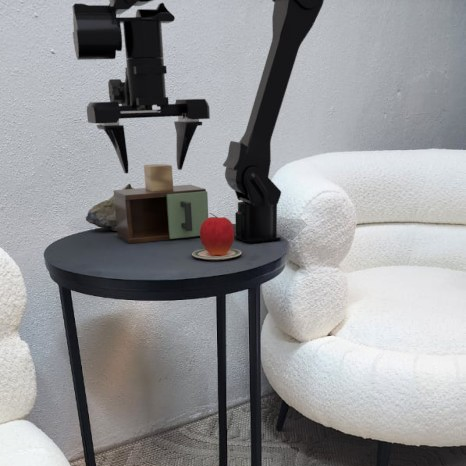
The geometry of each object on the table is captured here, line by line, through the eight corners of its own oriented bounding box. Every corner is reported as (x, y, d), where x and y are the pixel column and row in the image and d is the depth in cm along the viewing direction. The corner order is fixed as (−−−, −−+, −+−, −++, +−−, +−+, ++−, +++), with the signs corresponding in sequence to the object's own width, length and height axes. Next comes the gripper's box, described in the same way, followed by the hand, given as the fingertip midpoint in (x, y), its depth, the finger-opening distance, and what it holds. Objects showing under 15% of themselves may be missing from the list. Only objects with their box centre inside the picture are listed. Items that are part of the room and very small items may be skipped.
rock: (136, 217, 140) (141, 182, 131) (143, 242, 139) (149, 208, 130) (81, 221, 137) (82, 185, 128) (88, 247, 136) (89, 213, 126)
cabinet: (192, 229, 134) (190, 184, 130) (207, 235, 128) (205, 188, 123) (118, 236, 129) (113, 190, 125) (129, 243, 123) (125, 195, 118)
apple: (193, 252, 115) (191, 210, 112) (241, 251, 115) (240, 209, 111) (190, 262, 108) (188, 218, 105) (241, 261, 108) (240, 217, 105)
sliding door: (207, 234, 127) (206, 191, 123) (216, 238, 124) (214, 193, 120) (169, 238, 125) (166, 194, 121) (176, 242, 121) (173, 196, 118)
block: (166, 187, 126) (164, 163, 124) (173, 190, 123) (171, 165, 121) (145, 189, 125) (143, 165, 123) (152, 191, 122) (150, 166, 120)
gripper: (184, 60, 114) (189, 164, 122) (73, 61, 108) (86, 170, 116) (208, 57, 105) (212, 169, 113) (89, 58, 99) (102, 177, 107)
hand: (153, 171), depth 113 cm, fingers open, 9 cm apart
